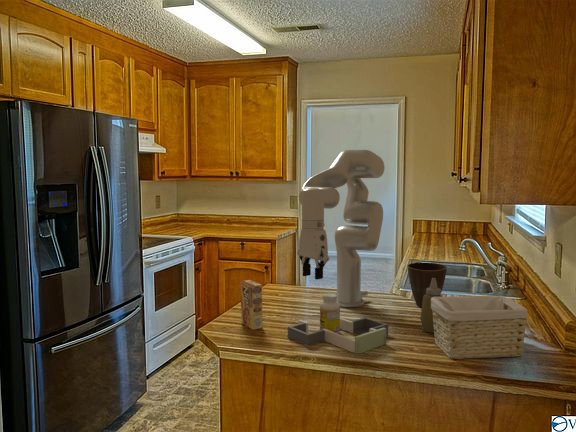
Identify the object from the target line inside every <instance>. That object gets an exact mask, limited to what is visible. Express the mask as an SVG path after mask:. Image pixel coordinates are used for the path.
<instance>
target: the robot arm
mask: <svg viewBox="0 0 576 432" xmlns="http://www.w3.org/2000/svg"><path fill="white" fill-rule="evenodd" d="M384 173H385V162H384V160H383V159H382V157H380V156H379V155H378V154H376V153H375V152H374V151H371V150H369V149H345V150H343V151H341V152H340V153H339V154H338V155H337V156H336V158H335V159H334V160H333V162H332V163H331V165H330V166H329V168H327V169H325V170H322V171H321V172H319V173H317V174H314V175H313V176H311V177H309V179H307V180H306V182H305V183H304V184H303V186H302V187H301V188H300V192H299V193H298V201H299V203H300V205H301V230H300V236H299V248H298V251H297V252H296V253H297V256H298V258H299V259H300V261H301V262H300V263H301V265H302V276H303V277H308V276H311V270H312V268H311V267H312V266H311V263H310V262H311V259H312V260H314V263H315V266H316V267H314V279H315V280H322V279H323V278H324V267H325V265H326V264H327V263H328V261H330V256H329V255H328V254H329V247H328V246H329V245H328V237H327V236H328V235H327V232H326V229H325V225H326V224H325V209H327V210H329V209H334V208H336V207H337V206H338V204H339V202H340V198H341V197H340V192H339V191H338V190H337V188H340V187H343V186H345V185H346V186H347V192H346V193H347V194H346V199H345V204H344V209H343V215H342V217H343V220H344V221H345V222H346V223H348V224H346V225H340V226H339V227H337V228H336V229H335V232H334V243H335V249H336V295H337V300H336V302H338V303H339V305H340V308H341V307H343V308H358V307H362V306H364V305H365V299H363V297H366V296H368V295H369V291H367V290H364V291H362V290H361V286H362V285H361V281H362V280H361V277H362V275H361V274H362V272H361V271H362V262H361V256H360V255H359V253H358V252H357V251H364V252H374V251H375V250H377V248H378V246H379V241H380V238H381V237H380V236H381V232H382V225H383V220H384V208H383V205H382V204H381V203H380V202H378V201H373V200H372V201H371V200H368V199H369V195H370V194H369V191H370V190H369V189H368V187H367V185H366V184H365V182H363V180H362V179H379V178H381V177H382V176H383V175H384ZM349 224H351V225H349ZM361 225H362V226H361ZM364 225H367V226H364Z"/></svg>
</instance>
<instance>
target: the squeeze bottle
mask: <svg viewBox="0 0 576 432" xmlns="http://www.w3.org/2000/svg"><path fill="white" fill-rule="evenodd" d="M426 293H427V294H425V295H424V296H423V302H422V308H421V309H420V310H421V312H420V318H419V319H420V320H419V321H420V322H421V325H422V329H423V331H424V332H426V333H430V334H434V323H433V312H432V309H431V298H432V297H444V296H443V295H442V292H441V289H439V288H437V283H436V278H432V280H431V284H430V288H427V289H426ZM440 294H441V295H440Z"/></svg>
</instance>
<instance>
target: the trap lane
mask: <svg viewBox="0 0 576 432" xmlns="http://www.w3.org/2000/svg"><path fill="white" fill-rule="evenodd" d="M297 321H298V323H297V324H293V325H290V326H287V338H289V339H291V340H292V341H295V342H298V343H300V344H302V345H305V346H307V347H309V346H313V345H315V344H316V345H317V344H319V343H322V342H327V343H328V344H332V345H334V346H337V347H339V348H341V349H343V350H346V351H349V352H351V353H354V354H357V355H358V354H361V353H364V352H366V351H369V350H373V349H375V348H378V347H380V346H381V347H382V346H383V345H386V344H387V336H388V335H389V324H388V323H385V322H382V321H378V320H375V319H373V318H369V317H367V316H363V317H361V318H358V319H354V320H350V319H349V320H348V319H346V318H343V317H340V330H342V331H345V332H348V333H355V334H358V335H356V336H354V339H353V338H351V337H349V336H345V335H342V334H341V333H339V334H338V333H335V332H332V331H330V330H327V329H322V330H320V329H318V330H316V331H312V332H309V321H305V320H302V319H298V320H297Z"/></svg>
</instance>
